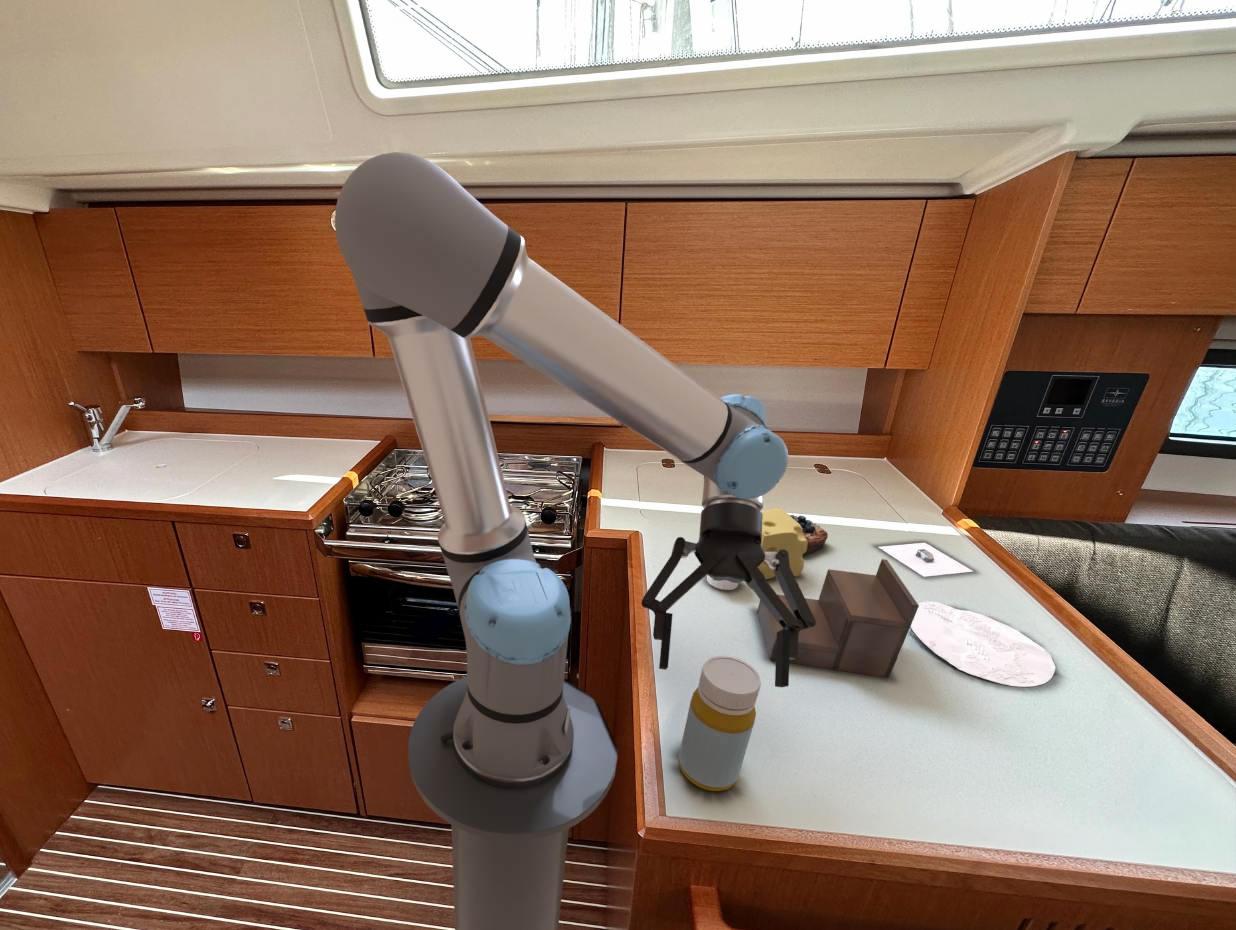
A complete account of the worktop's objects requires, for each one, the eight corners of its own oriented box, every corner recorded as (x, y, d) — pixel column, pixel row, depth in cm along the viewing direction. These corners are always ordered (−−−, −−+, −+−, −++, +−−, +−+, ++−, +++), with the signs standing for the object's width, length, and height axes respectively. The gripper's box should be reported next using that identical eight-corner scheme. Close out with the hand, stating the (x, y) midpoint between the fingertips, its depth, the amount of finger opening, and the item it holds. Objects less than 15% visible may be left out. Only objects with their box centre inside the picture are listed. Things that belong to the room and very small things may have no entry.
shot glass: (697, 582, 109) (703, 549, 105) (712, 568, 113) (719, 536, 110) (732, 596, 105) (740, 562, 102) (747, 581, 109) (755, 548, 106)
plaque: (878, 611, 101) (881, 604, 101) (972, 603, 106) (975, 596, 105) (978, 694, 84) (982, 686, 84) (1086, 680, 88) (1091, 672, 88)
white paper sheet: (923, 576, 113) (926, 570, 113) (877, 546, 124) (880, 540, 123) (973, 571, 116) (976, 564, 115) (924, 542, 126) (927, 536, 126)
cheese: (801, 577, 112) (814, 530, 107) (751, 582, 109) (763, 535, 104) (768, 550, 120) (779, 506, 116) (722, 555, 118) (731, 510, 113)
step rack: (769, 659, 89) (790, 588, 83) (757, 611, 101) (774, 545, 95) (889, 677, 87) (919, 605, 81) (862, 626, 98) (887, 559, 92)
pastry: (751, 539, 125) (757, 514, 122) (783, 525, 131) (789, 502, 128) (799, 561, 117) (806, 535, 114) (830, 545, 123) (838, 521, 121)
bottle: (685, 738, 75) (706, 646, 68) (741, 760, 72) (769, 666, 65) (670, 778, 69) (692, 682, 62) (731, 804, 66) (760, 706, 60)
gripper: (822, 530, 77) (821, 695, 71) (632, 509, 81) (615, 663, 75) (845, 511, 70) (846, 692, 64) (636, 489, 74) (617, 657, 68)
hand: (721, 677), depth 69 cm, fingers open, 13 cm apart
